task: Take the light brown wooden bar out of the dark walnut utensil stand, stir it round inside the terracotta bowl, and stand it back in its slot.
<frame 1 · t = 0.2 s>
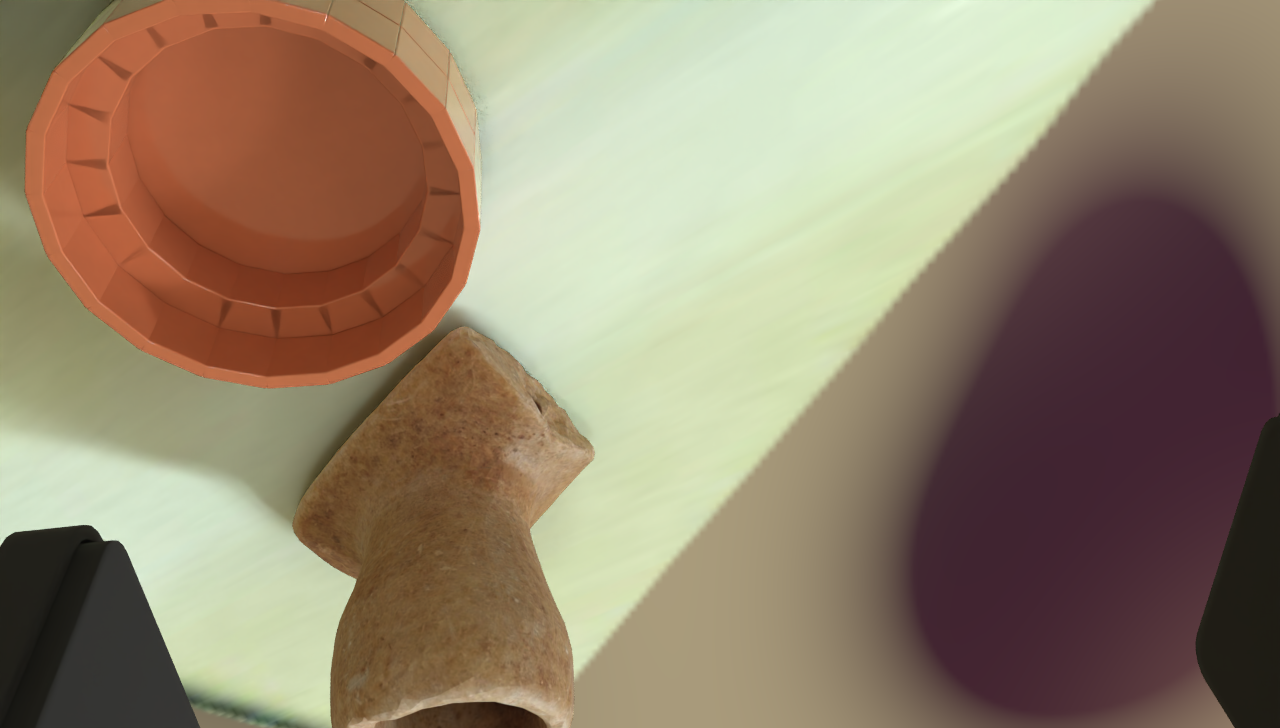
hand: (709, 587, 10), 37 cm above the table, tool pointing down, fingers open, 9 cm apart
bowl: (284, 140, 46), on the table
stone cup: (461, 466, 57), on the table
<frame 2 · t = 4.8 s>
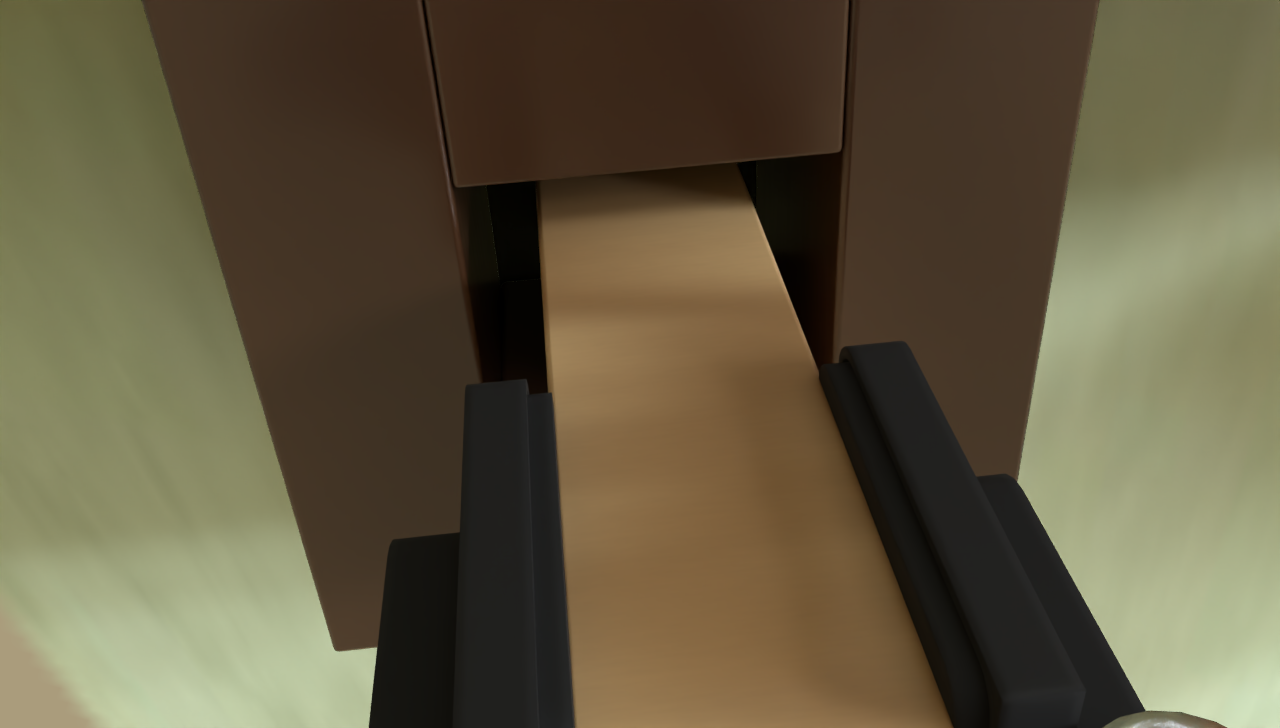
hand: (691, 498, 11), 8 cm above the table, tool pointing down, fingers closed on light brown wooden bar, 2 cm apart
light brown wooden bar: (619, 147, 17), resting in utensil stand, touching gripper
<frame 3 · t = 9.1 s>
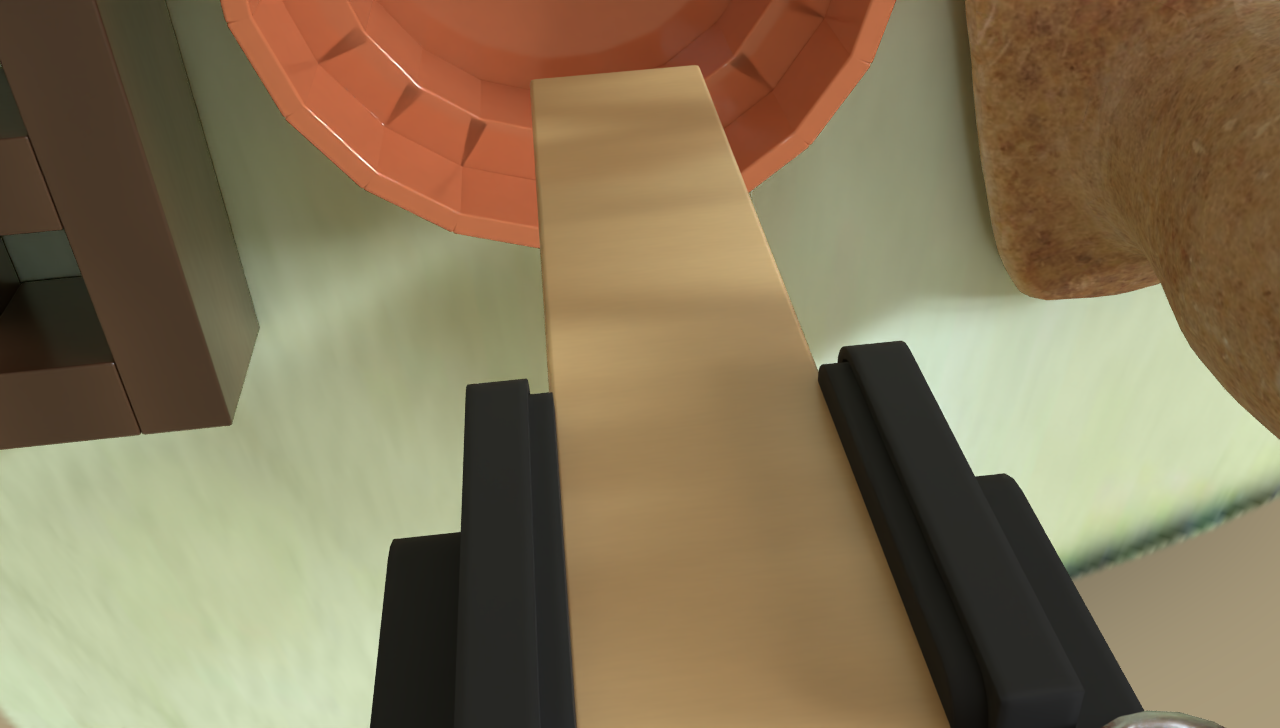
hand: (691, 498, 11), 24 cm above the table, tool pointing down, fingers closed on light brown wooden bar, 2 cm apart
utensil stand: (26, 110, 32), on the table
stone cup: (1149, 39, 35), on the table
light brown wooden bar: (619, 149, 17), point 16 cm above the table, touching gripper
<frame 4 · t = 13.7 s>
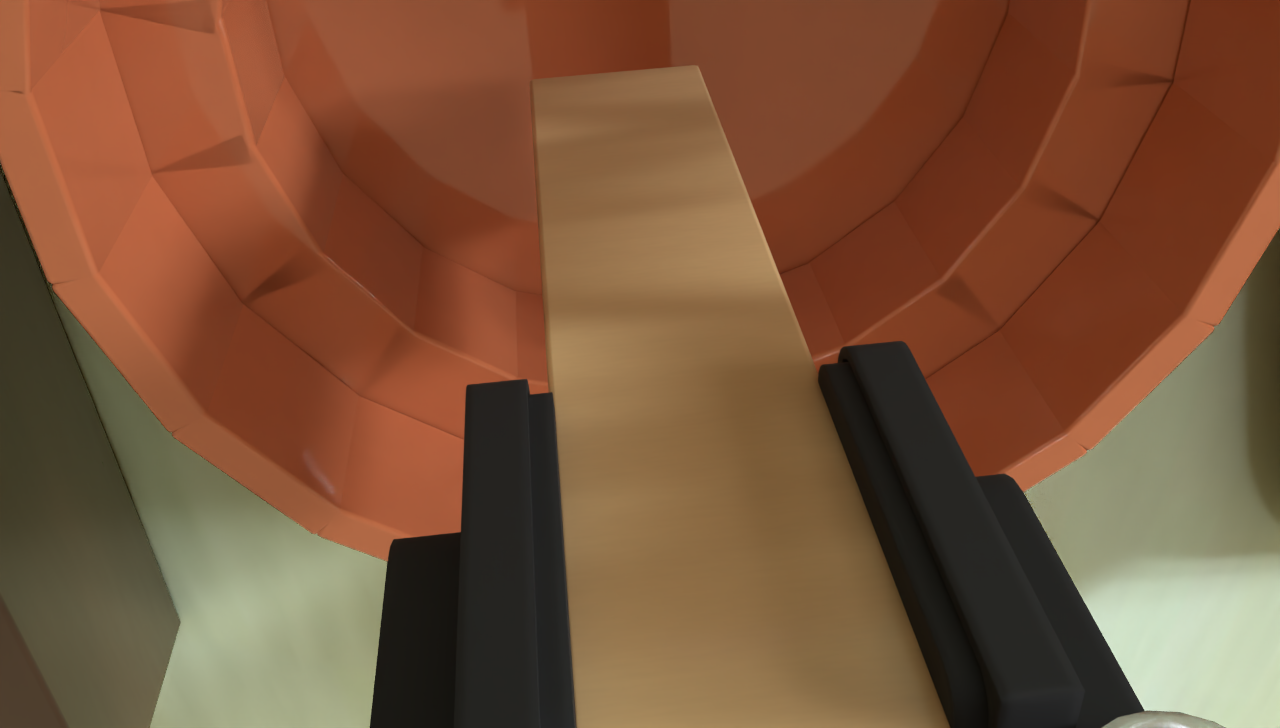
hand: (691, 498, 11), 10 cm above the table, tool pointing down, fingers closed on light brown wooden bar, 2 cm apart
light brown wooden bar: (619, 149, 17), point 2 cm above the table, touching gripper
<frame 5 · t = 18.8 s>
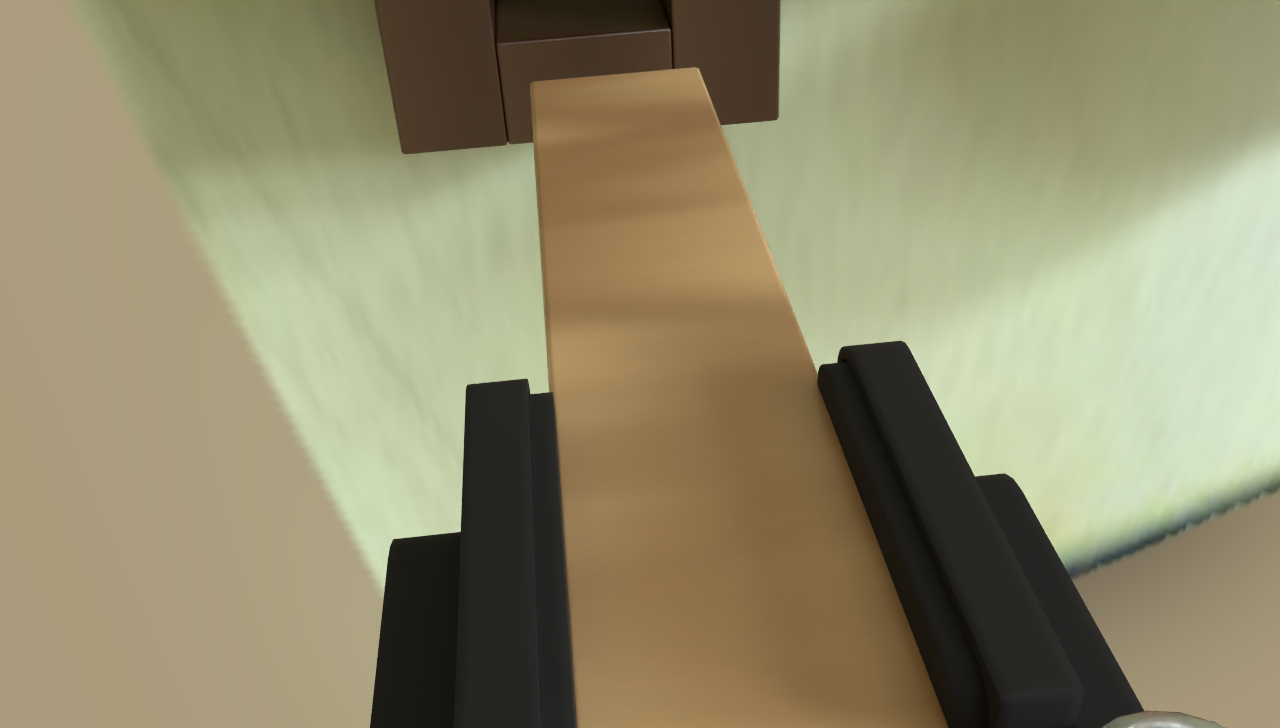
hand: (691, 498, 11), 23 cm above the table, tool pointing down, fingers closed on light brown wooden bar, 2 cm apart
light brown wooden bar: (619, 151, 17), point 15 cm above the table, touching gripper
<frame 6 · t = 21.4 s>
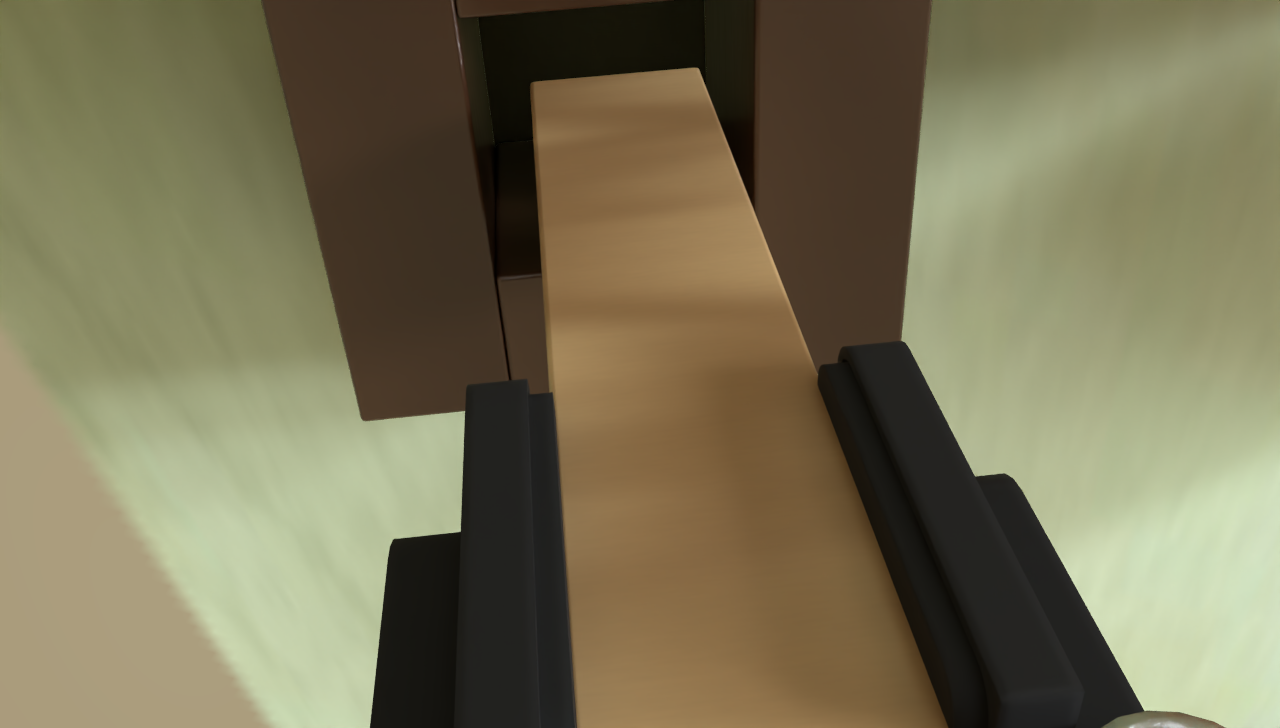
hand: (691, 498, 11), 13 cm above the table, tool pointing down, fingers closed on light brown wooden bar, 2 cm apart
light brown wooden bar: (619, 151, 17), point 5 cm above the table, touching gripper
when the fingers open (8 cm above the table, at t = 22.9 s): light brown wooden bar stays where it is, resting in utensil stand.
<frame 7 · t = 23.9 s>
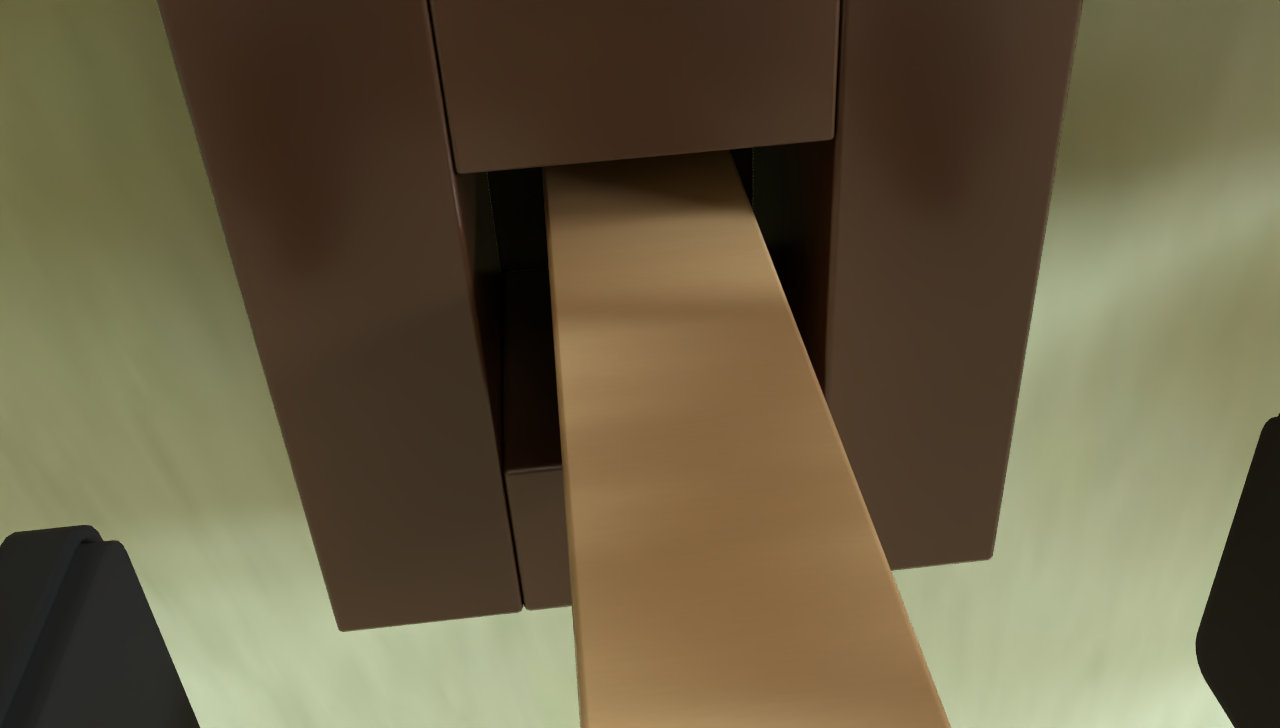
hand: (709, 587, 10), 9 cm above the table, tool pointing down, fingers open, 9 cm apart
light brown wooden bar: (623, 156, 18), resting in utensil stand
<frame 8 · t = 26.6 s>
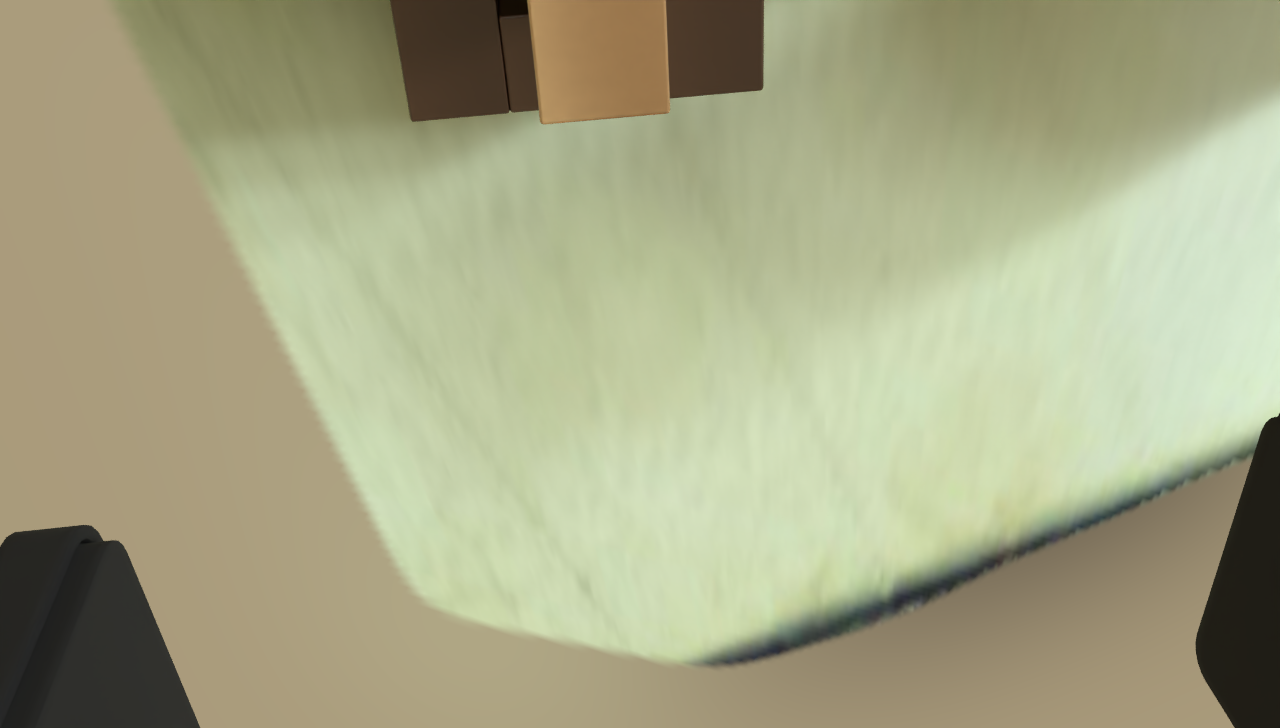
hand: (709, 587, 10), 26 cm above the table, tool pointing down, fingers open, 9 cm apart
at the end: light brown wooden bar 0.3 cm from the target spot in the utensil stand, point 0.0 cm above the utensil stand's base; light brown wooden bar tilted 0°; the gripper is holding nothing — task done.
